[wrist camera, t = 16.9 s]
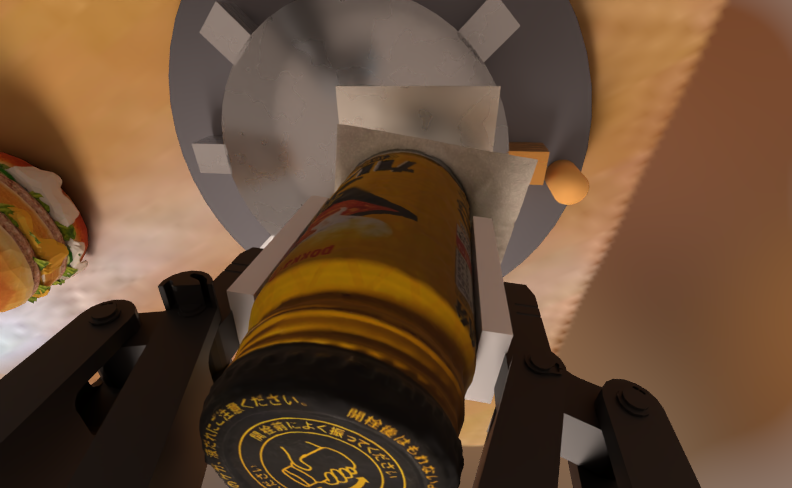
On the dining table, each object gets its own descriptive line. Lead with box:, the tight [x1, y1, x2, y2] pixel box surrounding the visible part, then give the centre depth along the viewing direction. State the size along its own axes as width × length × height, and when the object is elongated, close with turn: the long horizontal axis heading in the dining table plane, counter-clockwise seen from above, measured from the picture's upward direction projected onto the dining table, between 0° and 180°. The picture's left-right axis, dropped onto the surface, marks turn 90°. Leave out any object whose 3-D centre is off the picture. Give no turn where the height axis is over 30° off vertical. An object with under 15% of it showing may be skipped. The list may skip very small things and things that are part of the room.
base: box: [169, 0, 592, 277], centre depth 24 cm, size 28×28×4 cm
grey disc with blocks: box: [192, 0, 550, 249], centre depth 21 cm, size 22×22×8 cm
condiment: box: [199, 124, 538, 488], centre depth 12 cm, size 7×8×12 cm
